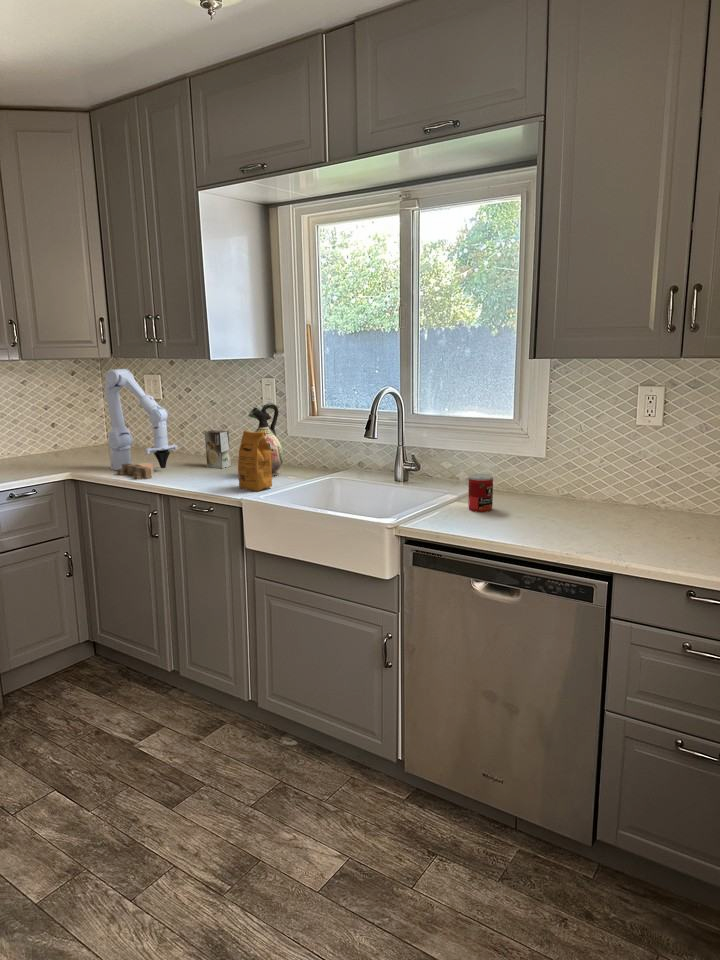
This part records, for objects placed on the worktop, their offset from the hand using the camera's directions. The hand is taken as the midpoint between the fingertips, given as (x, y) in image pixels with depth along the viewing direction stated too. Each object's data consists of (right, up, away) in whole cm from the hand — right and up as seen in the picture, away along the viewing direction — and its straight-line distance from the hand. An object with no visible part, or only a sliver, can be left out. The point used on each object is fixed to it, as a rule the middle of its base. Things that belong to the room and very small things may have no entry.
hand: (163, 467), depth 299 cm
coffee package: (+46, -9, -38) cm, 60 cm away
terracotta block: (-6, -3, -6) cm, 9 cm away
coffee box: (+23, 0, +8) cm, 24 cm away
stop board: (-10, -4, -10) cm, 14 cm away
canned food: (+125, -15, -76) cm, 147 cm away
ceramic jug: (+47, -4, -13) cm, 49 cm away
